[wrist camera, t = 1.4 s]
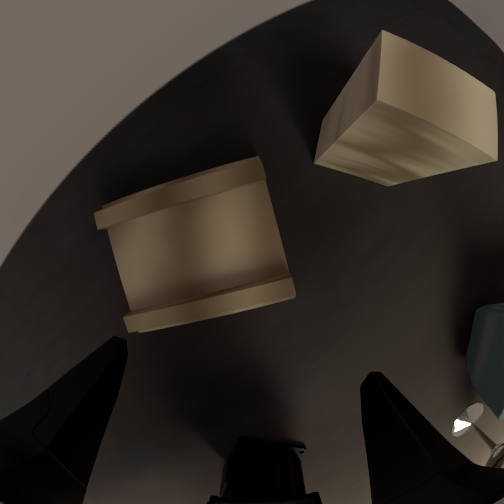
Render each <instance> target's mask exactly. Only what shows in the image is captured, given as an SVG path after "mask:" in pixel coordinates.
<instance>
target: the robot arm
mask: <svg viewBox="0 0 504 504" xmlns="http://www.w3.org/2000/svg"><path fill="white" fill-rule="evenodd" d="M127 358H128V350H127V342H126V339H125V338H124V337H120V336H116V335H115V336H113V337H112V338H110V339H109V340H108V341H107V342H105V343H104V344H103V345H101V346H100V347H99V348H98V349H96V350H95V351H94V352H92V353H91V354H90V355H89V356H87V357H86V358H85V359H84V360H82V361H81V362H80V363H78V364H77V365H76V366H75V367H73V368H72V369H71V370H70V371H68V372H67V373H66V374H65V375H63V376H62V377H61V378H60V379H58V380H57V381H56V382H55V383H53V384H52V385H51V386H50V387H48V389H46V390H44V391H43V392H42V393H41V394H39V395H38V396H37V397H35V398H34V399H33V400H32V401H30V402H29V403H27V404H26V405H24V406H23V407H21V408H20V409H18V410H16V411H15V412H13V413H12V414H10V415H8V416H7V417H5V418H3V419H2V420H0V504H83V500H84V497H85V493H86V490H87V489H86V488H87V486H88V482H89V479H90V476H91V472H92V469H93V466H94V463H95V460H96V457H97V454H98V451H99V447H100V444H101V442H102V439H103V436H104V433H105V430H106V427H107V424H108V421H109V419H110V416H111V413H112V410H113V408H114V405H115V402H116V400H117V397H118V393H119V389H120V385H121V381H122V377H123V373H124V369H125V366H126V362H127ZM360 395H361V413H362V425H363V432H364V439H365V446H366V453H367V461H368V469H369V478H370V487H371V497H372V504H504V468H496V467H486V466H480V465H477V464H475V463H473V462H472V461H470V460H469V459H468V458H467V457H466V456H464V455H463V454H462V453H461V452H460V451H459V450H457V449H456V448H455V447H454V446H453V445H452V444H451V443H449V442H448V441H447V440H446V439H445V438H444V437H443V436H442V435H441V434H440V433H439V432H438V431H437V430H436V429H435V428H434V427H433V426H432V424H431V423H430V422H429V421H428V420H427V419H426V418H425V417H424V416H423V415H422V414H421V413H420V412H419V411H418V410H417V409H416V408H415V407H414V406H413V405H412V404H411V403H410V402H409V401H408V400H407V399H406V398H405V397H404V395H403V394H402V393H401V392H400V391H399V390H398V389H397V388H396V387H395V386H394V385H393V384H392V383H391V382H390V381H389V380H388V379H387V378H386V377H385V376H384V375H383V374H382V373H381V372H370V373H369V374H368V376H367V377H366V378H365V380H364V381H363V382H362V384H361V387H360ZM242 441H245V442H242ZM301 450H303V451H301ZM306 453H307V449H306V447H305V446H298V445H290V444H283V443H277V442H270V441H265V440H259V439H254V438H248V437H240V438H239V439H238V442H237V444H236V447H235V450H234V452H230V453H229V454H228V457H227V459H226V462H225V465H224V467H223V474H222V481H221V488H220V496H221V497H218V496H211V497H210V500H209V502H207V504H322V502H321V499H320V496H319V493H318V492H311V493H310V494H306V492H305V485H304V479H303V473H302V467H301V462H302V460H303V458H304V456H305V455H306Z"/></svg>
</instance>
